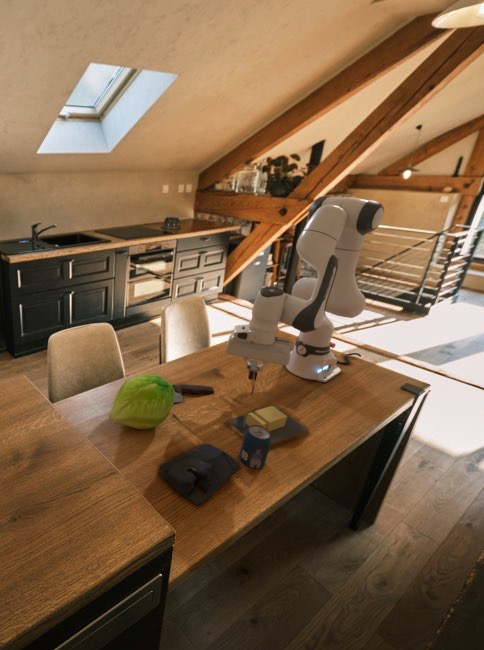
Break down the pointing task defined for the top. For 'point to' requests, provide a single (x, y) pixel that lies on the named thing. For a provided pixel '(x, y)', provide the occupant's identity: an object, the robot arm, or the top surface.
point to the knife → (253, 374)
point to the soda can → (255, 447)
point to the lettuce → (142, 402)
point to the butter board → (275, 433)
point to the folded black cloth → (199, 471)
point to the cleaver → (190, 390)
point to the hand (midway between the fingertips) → (253, 369)
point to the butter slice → (254, 420)
